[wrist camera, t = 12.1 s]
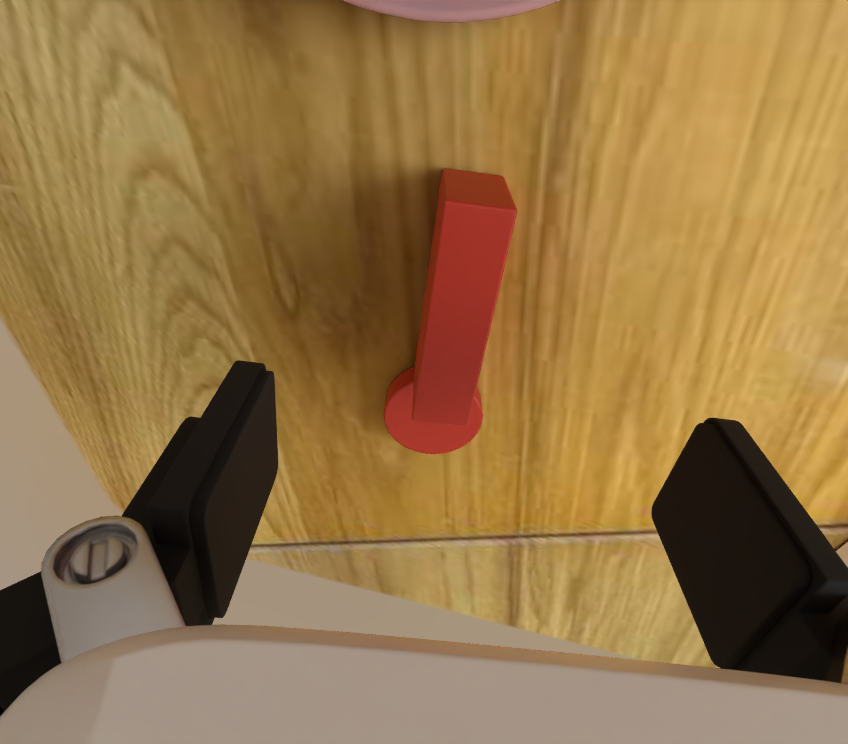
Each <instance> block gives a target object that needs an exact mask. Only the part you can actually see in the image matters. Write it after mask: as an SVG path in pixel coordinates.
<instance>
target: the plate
mask: <svg viewBox="0 0 848 744" xmlns="http://www.w3.org/2000/svg"><path fill="white" fill-rule="evenodd" d="M343 1H345V2H348V3H350V4H353V5H356V6H358V7H362V8H365V9H368V10H371V11H374V12H378V13H382V14H386V15H390V16H394V17H400V18H406V19H412V20H419V21H430V22H473V21H482V20H490V19H497V18H502V17H508V16H513V15H517V14H521V13H524V12H528V11H532V10H536V9H539V8H541V7H544V6H547V5H550V4H553V3H556V2H558V1H561V0H343Z"/></svg>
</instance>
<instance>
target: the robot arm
mask: <svg viewBox="0 0 848 744" xmlns="http://www.w3.org/2000/svg"><path fill="white" fill-rule="evenodd" d="M277 469H278V448H277V426H276V403H275V381H274V373H273V372H272V371H266V367H265V365H264V364H263V363H255V362H247V361H239V360H238V361H235V363H234V364H233V366H232V367H231V369H230V371H229V372H228V374H227V375H226V377H225V379H224V380H223V382H222V384H221V385H220V387H219V389H218V390H217V392H216V393H215V395H214V397H213V398H212V400H211V402H210V403H209V405H208V407H207V408H206V410H205V411H204V413H203V415H202V416H201V418H198V417H188V418H186V419H185V420H184V421H183V423H182V424H181V425H180V427H179V428H178V430H177V432H176V433H175V435H174V436H173V438H172V439H171V441H170V442H169V444H168V445H167V447H166V448H165V450H164V452H163V453H162V455H161V456H160V458H159V459H158V461H157V462H156V464H155V465H154V467H153V468H152V470H151V472H150V473H149V475H148V476H147V478H146V479H145V481H144V482H143V484H142V485H141V487H140V489H139V490H138V492H137V493H136V495H135V496H134V498H133V499H132V501H131V502H130V504H129V505H128V507H127V509H126V510H125V512H124V513H123V515H122V516H105V517H99V518H95V519H92V520H88V521H85V522H83V523H81V524H79V525H77V526H75V527H73V528H71V529H70V530H68V531H67V532H65V533H64V534H63V535H61V536H60V537H59V538H57V540H56V541H55V542H54V543H53V544H52V545H51V547H50V548H49V549H48V550H47V552H46V554H45V556H44V559H43V561H42V567H41V572H39V573H37V574H34V575H33V576H30V577H28V578H26V579H24V580H22V581H19V582H17V583H16V584H13V585H11V586H9V587H7V588H5V589H2V590H0V744H848V567H847V566H846V564H845V563H844V562H843V560H842V559H841V558H840V556H839V555H838V554H837V552H836V551H835V550H834V548H833V547H832V545H831V544H830V543H829V541H828V540H827V539H826V537H825V536H824V535H823V533H822V532H821V531H820V529H819V528H818V527H817V525H816V524H815V523H814V521H813V520H812V518H811V517H810V516H809V514H808V513H807V512H806V510H805V509H804V508H803V506H802V505H801V504H800V502H799V501H798V500H797V498H796V497H795V495H794V494H793V493H792V491H791V490H790V489H789V487H788V486H787V485H786V483H785V482H784V481H783V479H782V478H781V477H780V475H779V474H778V473H777V471H776V470H775V468H774V467H773V466H772V464H771V463H770V462H769V460H768V459H767V458H766V456H765V455H764V454H763V452H762V451H761V450H760V448H759V447H758V445H757V444H756V443H755V441H754V440H753V439H752V437H751V436H750V435H749V433H748V432H747V431H746V429H745V428H744V427H743V425H742V424H741V423H740V422H738V421H735V420H727V419H719V418H708V419H707V420H705V421H704V423H699V424H698V425H697V426H696V427H695V429H694V431H693V433H692V434H691V436H690V438H689V440H688V442H687V443H686V445H685V447H684V449H683V451H682V452H681V454H680V456H679V458H678V460H677V462H676V463H675V465H674V467H673V469H672V471H671V472H670V474H669V476H668V478H667V480H666V481H665V483H664V485H663V487H662V489H661V491H660V492H659V494H658V496H657V498H656V500H655V501H654V503H653V506H652V519H653V522H654V524H655V527H656V529H657V532H658V534H659V536H660V539H661V541H662V544H663V546H664V548H665V551H666V553H667V555H668V558H669V560H670V563H671V565H672V567H673V570H674V572H675V575H676V577H677V579H678V582H679V584H680V587H681V589H682V591H683V594H684V596H685V598H686V601H687V603H688V606H689V608H690V610H691V613H692V615H693V618H694V620H695V622H696V625H697V627H698V629H699V632H700V634H701V637H702V639H703V641H704V644H705V646H706V649H707V651H708V653H709V656H710V658H711V660H712V662H713V663H714V664H715V665H716V666H718V667H720V668H721V669H719V668H709V667H700V666H690V665H680V664H671V663H661V662H652V661H642V660H632V659H622V658H612V657H602V656H592V655H582V654H572V653H562V652H552V651H542V650H531V649H521V648H511V647H501V646H490V645H479V644H470V643H458V642H447V641H437V640H426V639H416V638H405V637H394V636H383V635H373V634H361V633H350V632H338V631H324V630H312V629H298V628H286V627H273V626H272V627H271V626H253V625H212V623H213V621H214V618H215V617H217V618H223V617H224V615H225V613H226V611H227V608H228V606H229V604H230V600H231V598H232V595H233V593H234V590H235V587H236V584H237V582H238V579H239V576H240V573H241V571H242V568H243V565H244V563H245V560H246V557H247V555H248V552H249V549H250V546H251V544H252V541H253V538H254V535H255V533H256V530H257V527H258V525H259V522H260V519H261V516H262V514H263V511H264V508H265V505H266V503H267V500H268V497H269V495H270V492H271V489H272V486H273V484H274V481H275V478H276V474H277Z"/></svg>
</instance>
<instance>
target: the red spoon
mask: <svg viewBox="0 0 848 744" xmlns="http://www.w3.org/2000/svg"><path fill="white" fill-rule="evenodd" d="M516 215H517V209H516V207H515V204H514V202H513V199H512V196H511V194H510V191H509V189H508V186H507V184H506V181H505V179H504V177H503V176H497V175H490V174H482V173H475V172H468V171H460V170H453V169H446V168H445V169H443V170H442V174H441V182H440V189H439V196H438V203H437V210H436V217H435V224H434V231H433V239H432V246H431V253H430V260H429V267H428V274H427V281H426V288H425V295H424V303H423V310H422V317H421V324H420V331H419V338H418V345H417V352H416V360H415V367H413V368H411V369H409V370H407V371H405V372H403V373H402V374H401V375H399V376H398V377H397V378H396V379H395V380H394V381H393V383H392V384H391V385H390V387H389V389H388V392H387V396H386V402H385V410H384V420H385V424H386V427H387V429H388V431H389V433H390V434H391V435H392V437H393V438H394V439H395V440H396V441H397V442H399V443H400V444H401V445H403V446H404V447H406V448H408V449H411V450H413V451H417V452H421V453H427V454H440V453H446V452H451V451H454V450H456V449H459V448H461V447H463V446H464V445H466V444H467V443H468V442H470V441H471V440H472V439H473V438H474V437H475V435H476V434H477V433H478V431H479V429H480V427H481V424H482V418H483V413H482V404H481V397H480V393H479V390H478V388H477V383H478V379H479V374H480V370H481V366H482V361H483V357H484V353H485V349H486V344H487V340H488V336H489V331H490V327H491V323H492V318H493V314H494V310H495V305H496V301H497V297H498V292H499V288H500V284H501V280H502V275H503V271H504V267H505V262H506V258H507V254H508V249H509V245H510V241H511V236H512V232H513V228H514V224H515V219H516Z"/></svg>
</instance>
